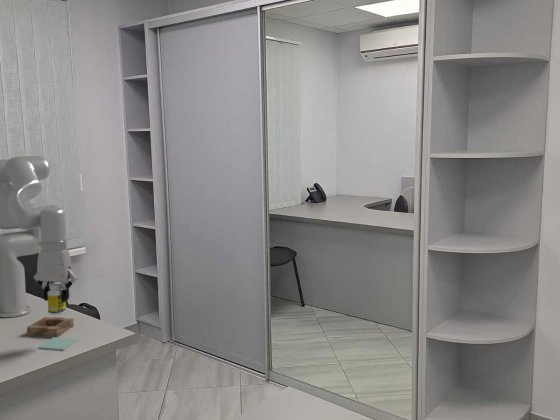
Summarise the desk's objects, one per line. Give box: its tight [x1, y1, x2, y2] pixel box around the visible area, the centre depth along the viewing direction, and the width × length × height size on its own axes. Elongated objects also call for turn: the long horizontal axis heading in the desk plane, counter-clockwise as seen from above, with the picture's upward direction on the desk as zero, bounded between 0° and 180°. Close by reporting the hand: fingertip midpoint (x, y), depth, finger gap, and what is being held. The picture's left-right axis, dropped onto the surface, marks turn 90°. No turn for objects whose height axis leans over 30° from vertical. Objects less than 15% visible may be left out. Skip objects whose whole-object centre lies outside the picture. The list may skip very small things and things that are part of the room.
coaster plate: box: [38, 336, 79, 351], centre depth 183 cm, size 9×9×1 cm
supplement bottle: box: [47, 282, 67, 316], centre depth 181 cm, size 5×5×10 cm
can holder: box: [26, 316, 75, 338], centre depth 195 cm, size 11×11×3 cm
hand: (56, 299), depth 181 cm, fingers closed on supplement bottle, 5 cm apart
